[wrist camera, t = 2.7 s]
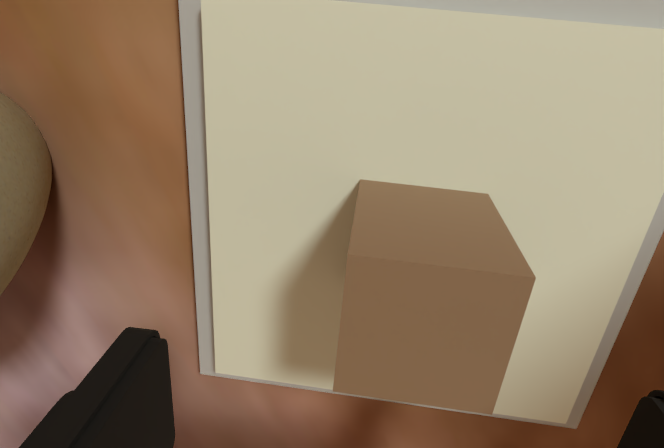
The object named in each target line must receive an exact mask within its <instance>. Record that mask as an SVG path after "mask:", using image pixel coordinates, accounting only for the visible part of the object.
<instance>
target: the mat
mask: <svg viewBox="0 0 664 448" xmlns="http://www.w3.org/2000/svg"><path fill="white" fill-rule="evenodd" d="M335 1H347V2H358V3H370V4H381V5H393V6H404V7H416V8H427V9H439V10H450V11H462V12H473V13H485V14H496V15H508V16H519V17H531V18H542V19H554V20H565V21H577V22H588V23H600V24H611V25H623V26H634V27H646V28H657V29H664V0H335ZM178 3H179V20H180V37H181V54H182V71H183V88H184V105H185V122H186V139H187V156H188V173H189V191H190V208H191V225H192V242H193V259H194V276H195V293H196V310H197V327H198V344H199V361H200V374H205V375H212V376H218V377H225V378H232V379H239V380H246V381H252V382H259V383H266V384H273V385H280V386H286V387H293V388H300V389H307V390H314V391H321V392H327V393H334V394H341V395H348V396H355V397H361V398H368V399H375V400H382V401H389V402H396V403H402V404H409V405H416V406H423V407H430V408H436V409H443V410H450V411H457V412H464V413H471V414H477V415H484V416H491V417H498V418H505V419H511V420H518V421H525V422H532V423H539V424H545V425H552V426H559V427H566V428H573V429H577V427H578V424H579V422H580V420H581V417H582V415H583V413H584V411H585V408H586V406H587V404H588V402H589V399H590V397H591V395H592V392H593V390H594V388H595V386H596V383H597V381H598V379H599V377H600V374H601V372H602V370H603V367H604V365H605V363H606V361H607V358H608V356H609V354H610V351H611V349H612V347H613V345H614V342H615V340H616V338H617V336H618V333H619V331H620V329H621V326H622V324H623V322H624V320H625V317H626V315H627V313H628V311H629V308H630V306H631V304H632V301H633V299H634V297H635V295H636V292H637V290H638V288H639V286H640V283H641V281H642V279H643V276H644V274H645V272H646V270H647V267H648V265H649V263H650V260H651V258H652V256H653V254H654V251H655V249H656V247H657V245H658V242H659V240H660V238H661V235H662V233H663V231H664V193H663V195H662V197H661V200H660V202H659V205H658V207H657V209H656V212H655V214H654V216H653V219H652V221H651V223H650V226H649V228H648V231H647V233H646V235H645V238H644V240H643V242H642V245H641V247H640V250H639V252H638V254H637V257H636V259H635V261H634V264H633V266H632V268H631V271H630V273H629V276H628V278H627V280H626V283H625V285H624V287H623V290H622V292H621V295H620V297H619V299H618V302H617V304H616V306H615V309H614V311H613V313H612V316H611V318H610V321H609V323H608V325H607V328H606V330H605V332H604V335H603V337H602V339H601V342H600V344H599V347H598V349H597V351H596V354H595V356H594V358H593V361H592V363H591V366H590V368H589V370H588V373H587V375H586V377H585V380H584V382H583V384H582V387H581V389H580V392H579V394H578V396H577V399H576V401H575V403H574V406H573V408H572V410H571V413H570V415H569V418H568V420H567V422H566V424H563V423H556V422H549V421H542V420H535V419H528V418H522V417H515V416H508V415H501V414H494V413H492V415H490V414H483V413H476V412H469V411H463V410H456V409H449V408H442V407H435V406H429V405H422V404H415V403H408V402H401V401H394V400H388V399H381V398H374V397H367V396H360V395H353V394H347V393H340V392H333V390H330V389H323V388H316V387H310V386H303V385H296V384H289V383H282V382H275V381H268V380H262V379H255V378H248V377H241V376H234V375H227V374H221V373H215V348H214V323H213V298H212V272H211V247H210V222H209V196H208V171H207V146H206V121H205V95H204V70H203V45H202V19H201V0H178Z"/></svg>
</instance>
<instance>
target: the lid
mask: <svg viewBox="0 0 664 448" xmlns="http://www.w3.org/2000/svg"><path fill="white" fill-rule="evenodd" d="M201 19H202V45H203V70H204V95H205V121H206V146H207V171H208V196H209V222H210V247H211V272H212V298H213V323H214V348H215V373H221V374H227V375H234V376H241V377H248V378H255V379H262V380H268V381H275V382H282V383H289V384H296V385H303V386H310V387H316V388H323V389H330V390H333V392H340V393H347V394H353V395H360V396H367V397H374V398H381V399H388V400H394V401H401V402H408V403H415V404H422V405H429V406H435V407H442V408H449V409H456V410H463V411H469V412H476V413H483V414H490V415H492V413H494V414H501V415H508V416H515V417H522V418H528V419H535V420H542V421H549V422H556V423H563V424H566V422H567V420H568V418H569V415H570V413H571V410H572V408H573V406H574V403H575V401H576V399H577V396H578V394H579V392H580V389H581V387H582V384H583V382H584V380H585V377H586V375H587V373H588V370H589V368H590V366H591V363H592V361H593V358H594V356H595V354H596V351H597V349H598V347H599V344H600V342H601V339H602V337H603V335H604V332H605V330H606V328H607V325H608V323H609V321H610V318H611V316H612V313H613V311H614V309H615V306H616V304H617V302H618V299H619V297H620V295H621V292H622V290H623V287H624V285H625V283H626V280H627V278H628V276H629V273H630V271H631V268H632V266H633V264H634V261H635V259H636V257H637V254H638V252H639V250H640V247H641V245H642V242H643V240H644V238H645V235H646V233H647V231H648V228H649V226H650V223H651V221H652V219H653V216H654V214H655V212H656V209H657V207H658V205H659V202H660V200H661V197H662V195H663V193H664V29H657V28H646V27H634V26H623V25H611V24H600V23H588V22H577V21H565V20H554V19H542V18H531V17H519V16H508V15H496V14H485V13H473V12H462V11H450V10H439V9H427V8H416V7H404V6H393V5H381V4H370V3H358V2H347V1H335V0H201Z"/></svg>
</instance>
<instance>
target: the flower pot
mask: <svg viewBox="0 0 664 448" xmlns="http://www.w3.org/2000/svg"><path fill="white" fill-rule="evenodd" d="M51 182H52V164H51V157H50V154H49V151H48V147H47V145H46V142H45V140H44V138H43V136H42V134H41V133H40V131H39V129H38V127H37V126H36V125H35V123H34V122H33V120H32V119H31V118H30V117H29V116H28V114H27V113H26V112H25V111H24V110H23V109H22V108H21V107H20V106H18V105H17V104H16V103H15V102H14V101H12V100H11V99H10V98H8V97H7V96H5V95H4V94H2V93H1V92H0V296H1V294H2V293H3V291H4V290H5V289H6V287H7V286H8V284H9V283H10V282H11V280H12V279H13V277H14V275H15V274H16V272H17V271H18V269H19V268H20V266H21V264H22V263H23V261H24V259H25V257H26V256H27V254H28V252H29V250H30V248H31V246H32V244H33V241H34V239H35V237H36V235H37V232H38V230H39V228H40V225H41V222H42V220H43V217H44V214H45V210H46V207H47V203H48V199H49V194H50V189H51Z"/></svg>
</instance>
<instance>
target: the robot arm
mask: <svg viewBox="0 0 664 448" xmlns="http://www.w3.org/2000/svg"><path fill="white" fill-rule="evenodd" d="M174 440H175V428H174V416H173V403H172V391H171V379H170V367H169V355H168V344H167V341H166V339H162V338H160V335H159V333H158V331H156V330H150V329H141V328H133V327H128V328H126V329H125V330H124V331H123V332H122V333H121V334H120V335H119V336H118V338H117V339H116V340H115V341H114V343H113V344H112V345H111V346H110V348H109V349H108V350H107V351H106V352H105V354H104V355H103V356H102V357H101V359H100V360H99V361H98V362H97V363H96V365H95V366H94V367H93V368H92V370H91V371H90V372H89V373H88V374H87V376H86V377H85V378H84V379H83V381H82V382H81V383H80V384H79V385H78V387H77V388H76V389H75V390H74V391H70V392H68V393H66V394H65V395H64V396H63V397H62V398H61V399H60V400H59V401H58V402H57V403H56V404H55V405H54V406H53V408H52V409H51V410H50V411H49V412H48V414H47V415H46V416H45V417H44V418H43V420H42V421H41V422H40V423H39V424H38V426H37V427H36V428H35V429H34V430H33V432H32V433H31V434H30V435H29V436H28V437H27V439H26V440H25V441H24V442H23V443H22V445H21V446H20V447H19V448H173V445H174ZM617 448H664V391H661V390H654V391H652V392H650V393H649V395H648V396H647V397H643V398H641V400H640V401H639V403H638V405H637V407H636V409H635V411H634V413H633V416H632V418H631V420H630V422H629V424H628V426H627V428H626V430H625V432H624V434H623V436H622V438H621V441H620V443H619V445H618V447H617Z"/></svg>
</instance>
